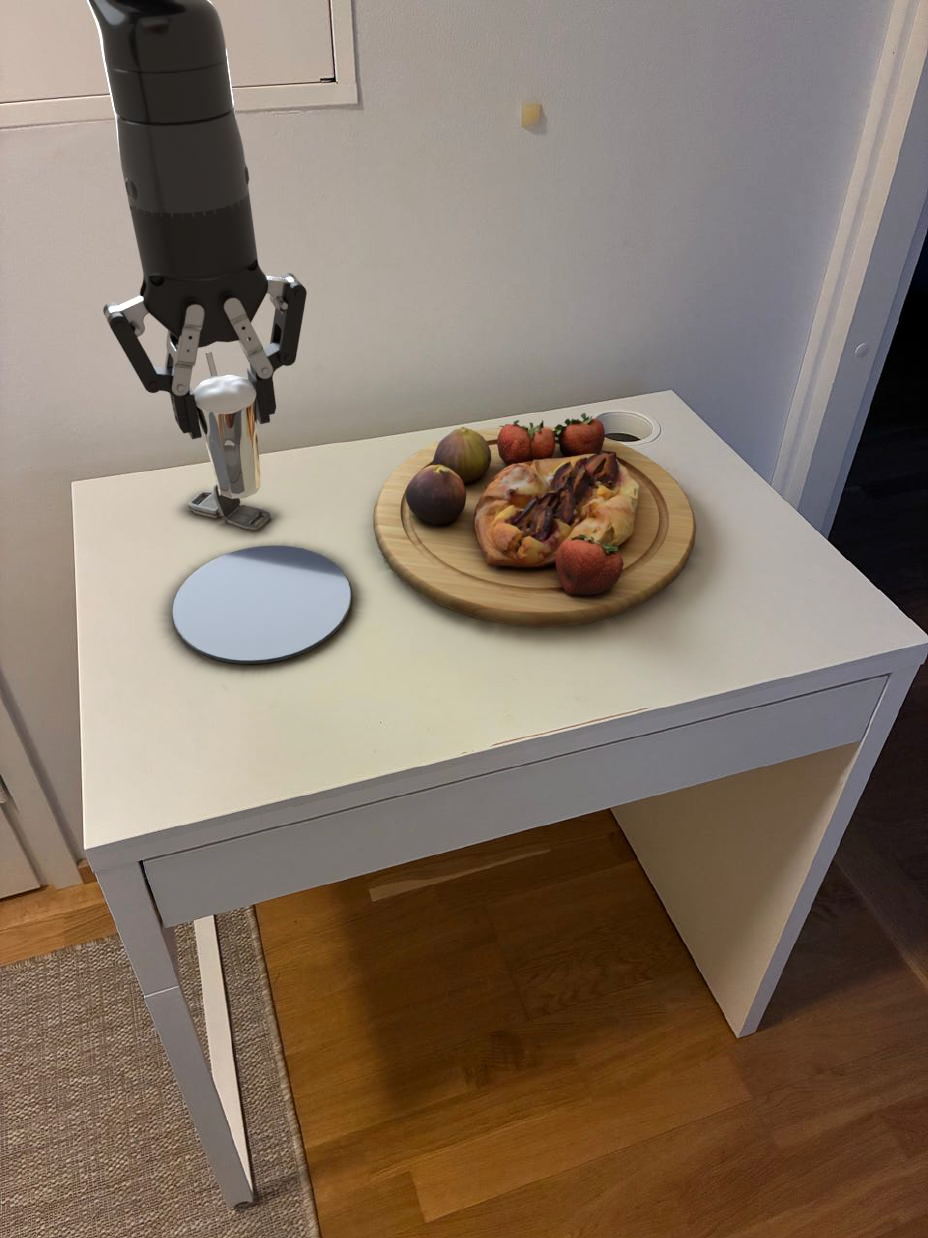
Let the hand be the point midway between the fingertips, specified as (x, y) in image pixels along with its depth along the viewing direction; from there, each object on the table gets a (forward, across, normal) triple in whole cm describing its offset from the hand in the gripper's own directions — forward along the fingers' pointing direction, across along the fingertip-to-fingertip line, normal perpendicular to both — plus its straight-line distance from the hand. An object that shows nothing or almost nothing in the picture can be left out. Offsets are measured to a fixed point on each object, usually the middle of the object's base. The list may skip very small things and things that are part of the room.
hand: (227, 425), depth 72 cm
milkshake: (+6, 0, 0) cm, 6 cm away
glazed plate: (+20, -1, -3) cm, 20 cm away
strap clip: (+20, -2, -18) cm, 27 cm away
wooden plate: (+20, -29, -3) cm, 35 cm away
